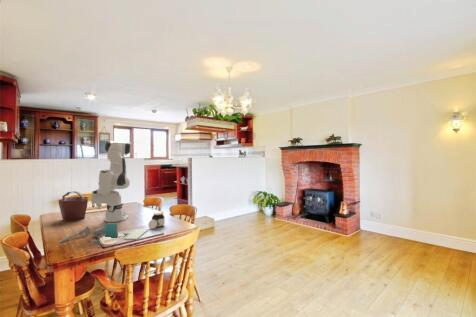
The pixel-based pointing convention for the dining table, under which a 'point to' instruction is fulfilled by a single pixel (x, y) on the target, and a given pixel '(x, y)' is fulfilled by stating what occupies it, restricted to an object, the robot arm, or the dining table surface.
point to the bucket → (73, 207)
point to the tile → (111, 230)
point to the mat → (99, 241)
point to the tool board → (136, 234)
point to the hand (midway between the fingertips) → (105, 209)
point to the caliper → (77, 234)
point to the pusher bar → (99, 231)
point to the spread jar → (157, 220)
